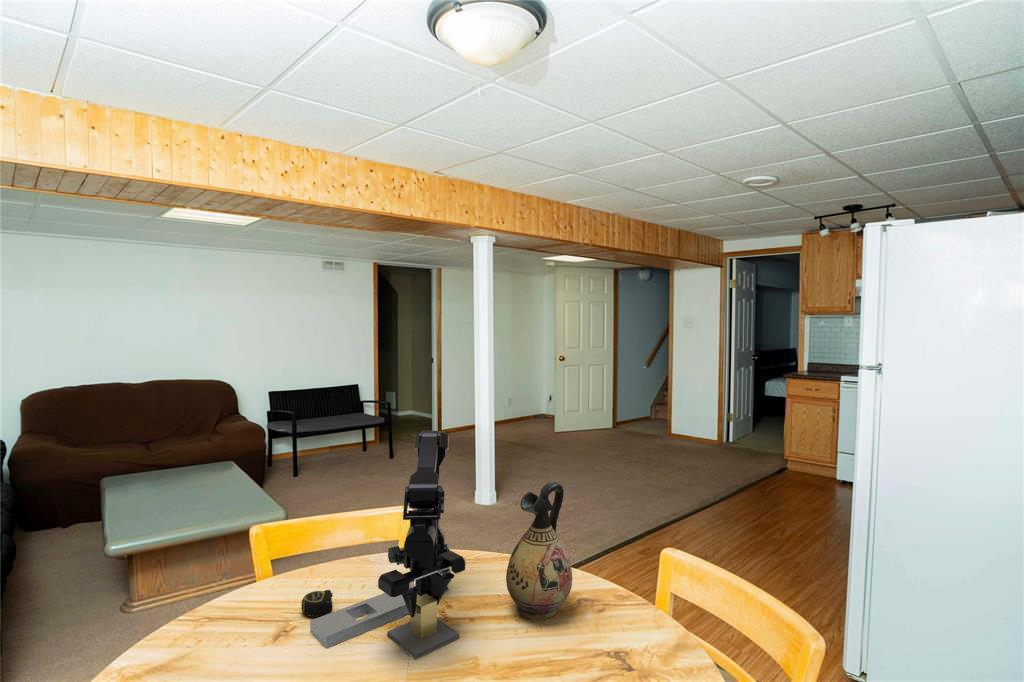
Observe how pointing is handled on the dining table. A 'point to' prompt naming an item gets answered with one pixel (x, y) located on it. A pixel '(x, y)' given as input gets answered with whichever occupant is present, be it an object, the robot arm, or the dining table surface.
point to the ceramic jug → (540, 559)
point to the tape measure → (317, 603)
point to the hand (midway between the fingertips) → (423, 611)
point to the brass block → (424, 617)
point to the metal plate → (345, 626)
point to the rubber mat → (425, 645)
